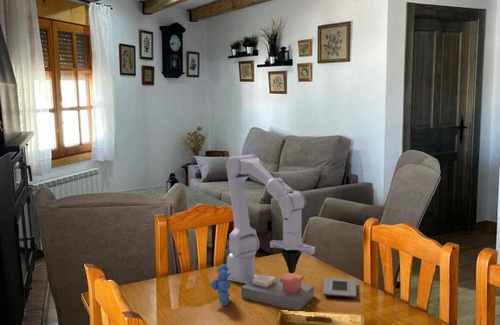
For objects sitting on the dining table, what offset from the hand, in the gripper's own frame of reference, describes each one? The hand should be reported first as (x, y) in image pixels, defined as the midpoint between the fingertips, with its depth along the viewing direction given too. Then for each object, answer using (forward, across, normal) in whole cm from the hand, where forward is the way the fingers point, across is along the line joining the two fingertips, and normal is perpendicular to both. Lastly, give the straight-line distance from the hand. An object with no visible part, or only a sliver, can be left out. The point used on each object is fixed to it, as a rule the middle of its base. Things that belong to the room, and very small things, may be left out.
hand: (291, 272), depth 157 cm
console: (+9, -5, 0) cm, 11 cm away
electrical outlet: (+10, +11, +14) cm, 20 cm away
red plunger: (+7, 0, 0) cm, 7 cm away
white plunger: (+9, -10, 0) cm, 14 cm away
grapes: (+10, -19, -12) cm, 24 cm away
